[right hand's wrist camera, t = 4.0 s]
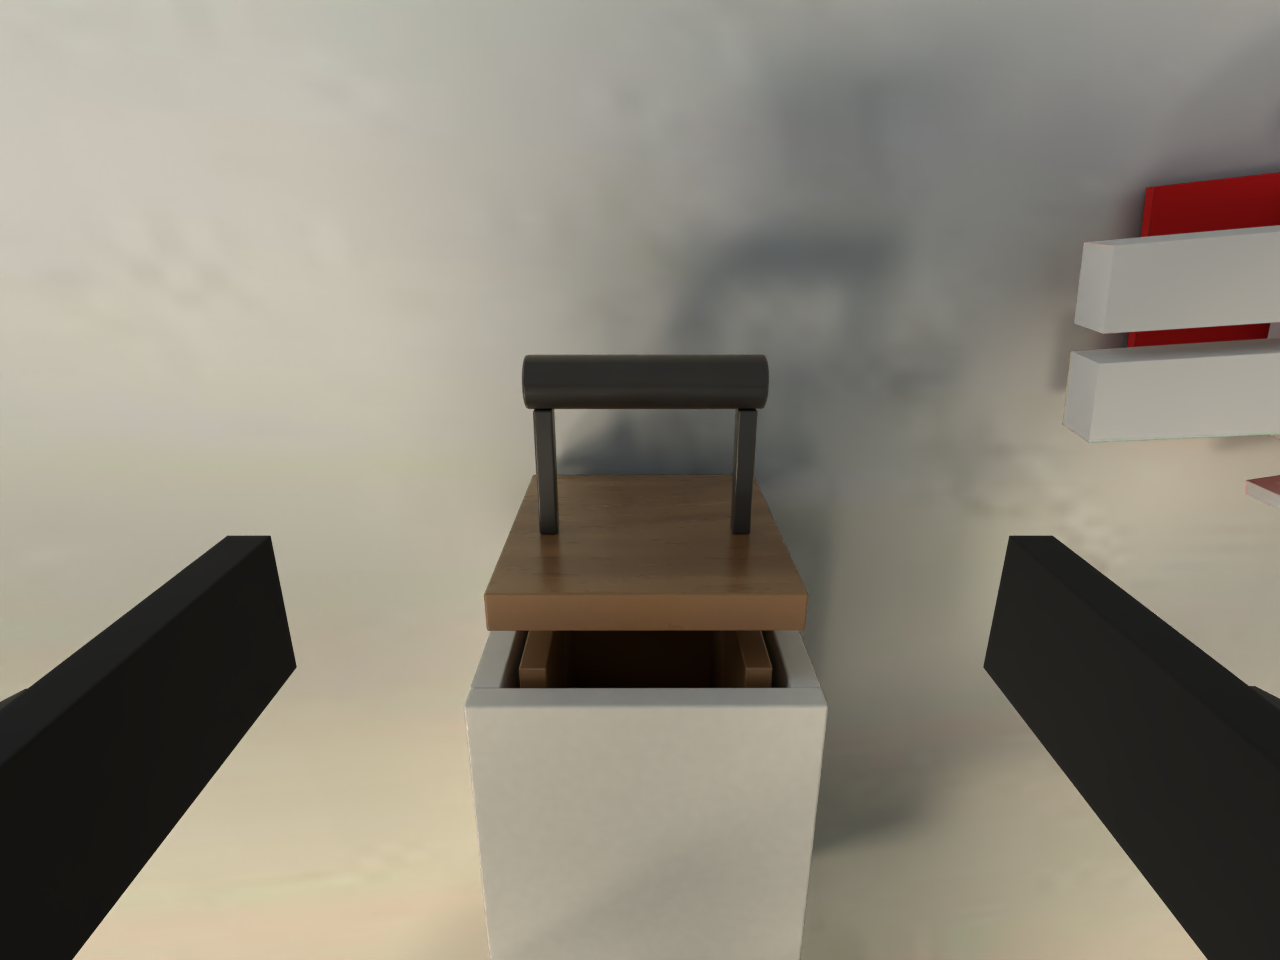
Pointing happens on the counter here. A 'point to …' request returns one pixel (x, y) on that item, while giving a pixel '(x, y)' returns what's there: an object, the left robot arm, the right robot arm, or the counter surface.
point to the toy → (1185, 321)
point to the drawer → (645, 541)
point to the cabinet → (645, 812)
